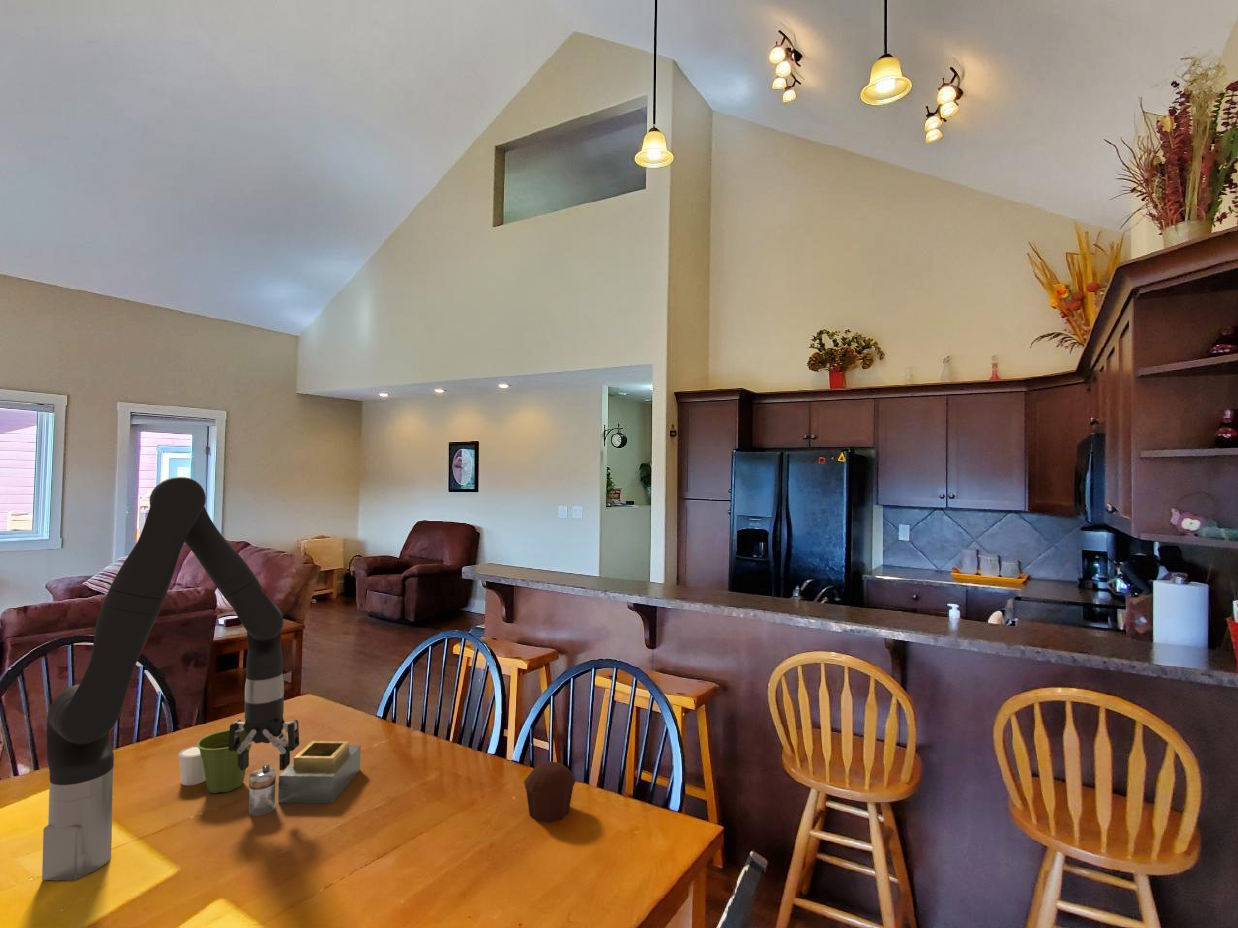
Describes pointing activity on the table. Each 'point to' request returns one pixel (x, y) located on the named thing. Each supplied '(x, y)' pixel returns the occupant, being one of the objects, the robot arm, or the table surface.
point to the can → (262, 791)
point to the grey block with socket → (319, 772)
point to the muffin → (549, 791)
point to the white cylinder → (191, 766)
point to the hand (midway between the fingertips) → (264, 768)
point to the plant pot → (221, 762)
